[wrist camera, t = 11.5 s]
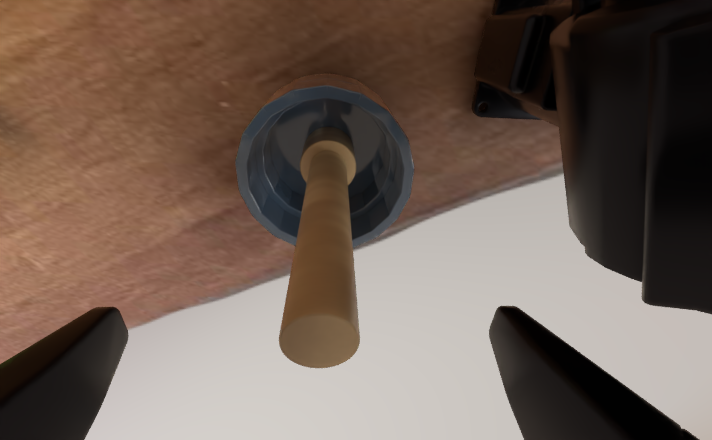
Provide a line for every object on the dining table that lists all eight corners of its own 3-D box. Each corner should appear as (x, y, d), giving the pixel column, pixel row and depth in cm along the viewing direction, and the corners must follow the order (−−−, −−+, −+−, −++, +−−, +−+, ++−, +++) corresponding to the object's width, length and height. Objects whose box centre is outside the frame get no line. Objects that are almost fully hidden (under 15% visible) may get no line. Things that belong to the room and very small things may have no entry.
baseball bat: (355, 127, 18) (388, 296, 7) (352, 175, 19) (376, 381, 8) (303, 125, 18) (248, 296, 7) (304, 174, 19) (261, 382, 8)
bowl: (406, 75, 17) (426, 90, 13) (389, 211, 21) (401, 253, 17) (249, 67, 17) (223, 79, 13) (263, 208, 21) (246, 251, 17)
